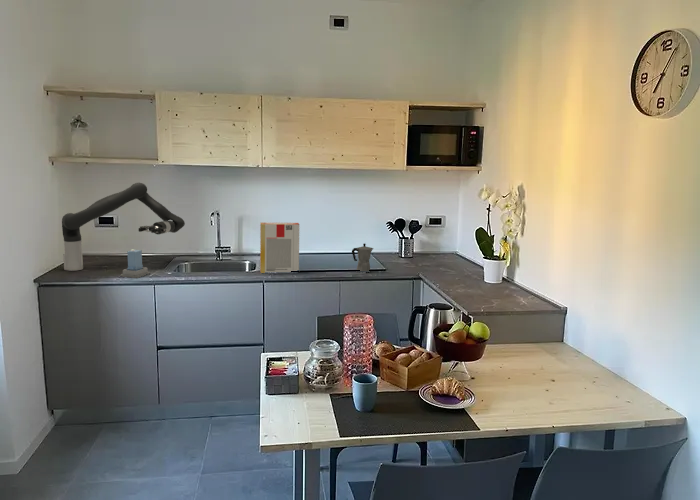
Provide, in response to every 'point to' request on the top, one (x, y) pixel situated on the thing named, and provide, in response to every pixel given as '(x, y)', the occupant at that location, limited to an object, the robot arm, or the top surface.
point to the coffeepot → (363, 257)
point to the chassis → (135, 273)
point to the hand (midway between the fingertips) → (145, 230)
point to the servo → (134, 260)
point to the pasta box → (279, 247)
